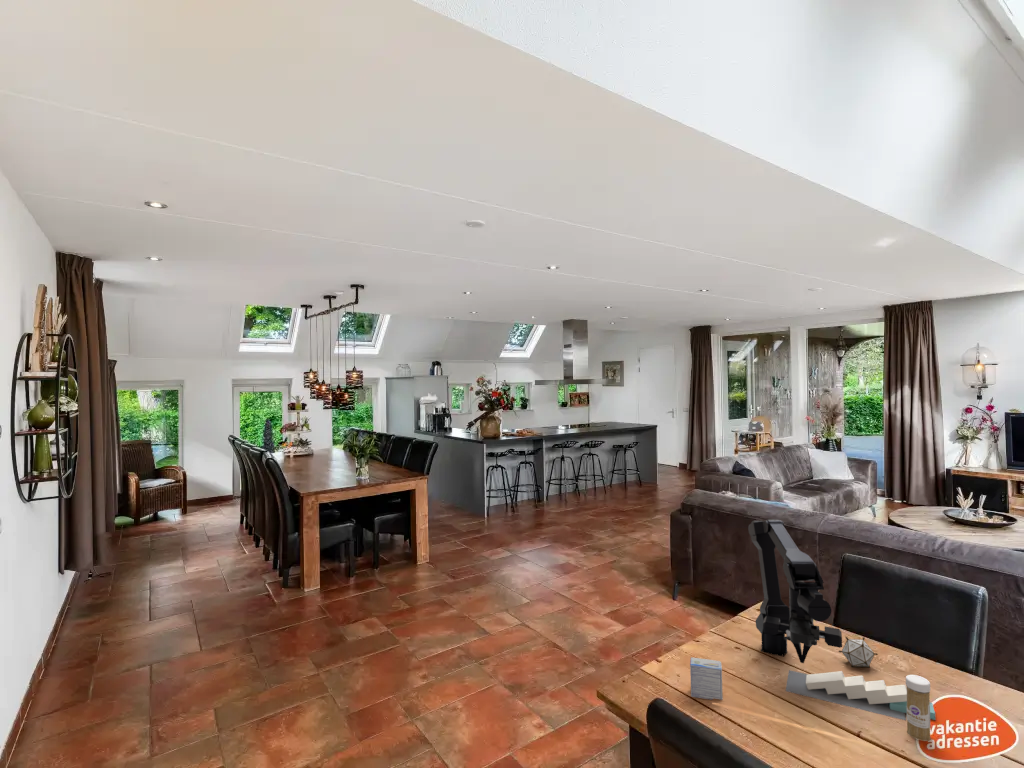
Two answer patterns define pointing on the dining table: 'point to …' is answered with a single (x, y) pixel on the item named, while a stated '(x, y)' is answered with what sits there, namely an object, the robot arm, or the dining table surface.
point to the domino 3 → (870, 690)
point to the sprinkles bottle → (918, 707)
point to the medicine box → (706, 678)
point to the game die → (858, 652)
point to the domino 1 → (825, 680)
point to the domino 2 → (849, 686)
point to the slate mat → (837, 697)
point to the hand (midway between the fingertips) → (802, 662)
